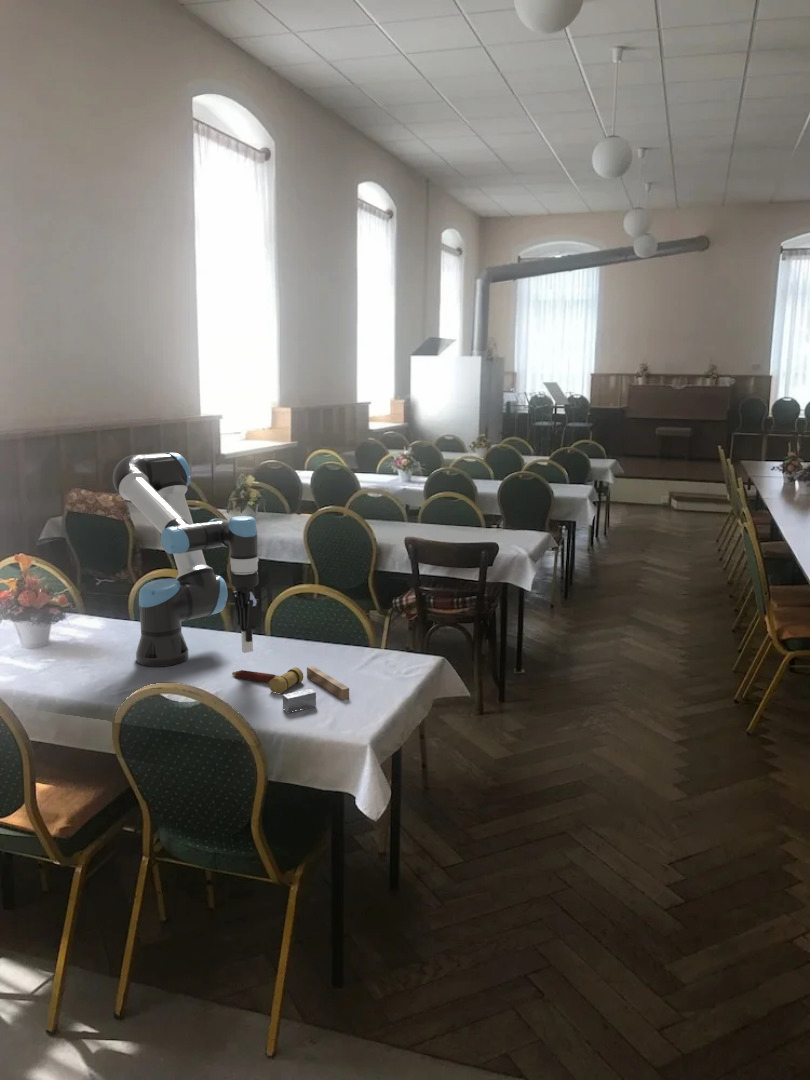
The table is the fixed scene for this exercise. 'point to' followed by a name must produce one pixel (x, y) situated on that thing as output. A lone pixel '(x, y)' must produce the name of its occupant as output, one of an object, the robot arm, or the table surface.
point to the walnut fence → (328, 683)
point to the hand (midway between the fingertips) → (247, 651)
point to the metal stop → (299, 700)
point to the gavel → (273, 678)
